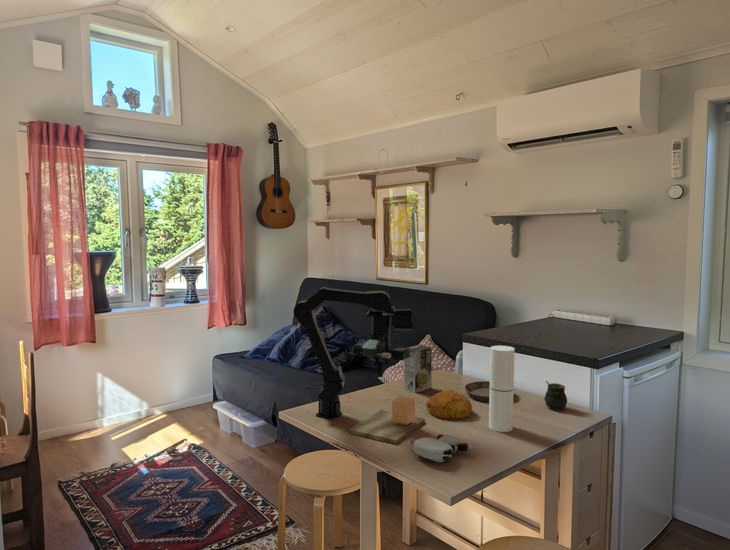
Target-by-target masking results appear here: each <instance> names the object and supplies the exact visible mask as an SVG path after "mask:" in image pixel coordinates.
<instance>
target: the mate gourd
mask: <svg viewBox="0 0 730 550" xmlns="http://www.w3.org/2000/svg"><path fill="white" fill-rule="evenodd" d="M545 382H546V384H547V390H546V393H545V394H544V402H545V405H546V406H547V408H549V409H550V410H552V411H563V410H564V409H565V408H566V407H567V404H568V399H567V398H568V397H567V394H566V393H565V390H566V389H565V388H566V386H565V385H563V384H561V383H557V382H556V383H555V382H554V383H553V382H552V383H549V382H548V381H547V380H545Z"/></svg>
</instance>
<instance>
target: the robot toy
mask: <svg viewBox="0 0 730 550" xmlns="http://www.w3.org/2000/svg"><path fill="white" fill-rule="evenodd" d="M407 443H408V444H409V443H411V444H413V451H414V452H415V454H417V455H418V456H420V457H422V458H424V459H427V460H430V461H434V462H435V463H438V464H440V463H443V462H445V461H447V460H450V459H452V458H453V457H454V455H453V454H455V453H457V452H458V451H460V452H467V451H468V450H472V449H473V446H472V445H471V444H468V443H461V439H460V438H457V437H455V436H452V435H450V434H449V435H447V434H445V435H443V434H438V435H437V437H436V438H433V437H421V438H417V439H415V440H414V441H412V440H411V441H410V440H407Z"/></svg>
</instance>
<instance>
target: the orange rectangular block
mask: <svg viewBox="0 0 730 550" xmlns="http://www.w3.org/2000/svg"><path fill="white" fill-rule="evenodd" d="M391 403H392V404H391V405H392V406H391V407H392V408H391V412H392V421H393V422H398V423H403V424H409V423H410V422H411V421H413V420H414V419H415V417H416V416H415V415H416V407H415V406H416V398H415V397H409V396H403V395H399V396H398V397H395V398H394V399H393V400H392V402H391Z"/></svg>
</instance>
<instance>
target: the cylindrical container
mask: <svg viewBox="0 0 730 550" xmlns="http://www.w3.org/2000/svg"><path fill="white" fill-rule="evenodd" d="M489 353H490V356H489V357H490V360H489V365H490V366H489V382H490V393H489V403H488V404H489V406H488V407H489V409H488V428H489V429H490V430H491V431H495V432H499V433H506V432H507V433H508V432H511V431H512V430H513V427H514V425H513V421H514V417H513V416H514V389H515V388H514V387H515V383H514V382H515V356H516V355H515V353H516V352H515V347H513V346H508V345H492V346H490V351H489Z"/></svg>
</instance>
